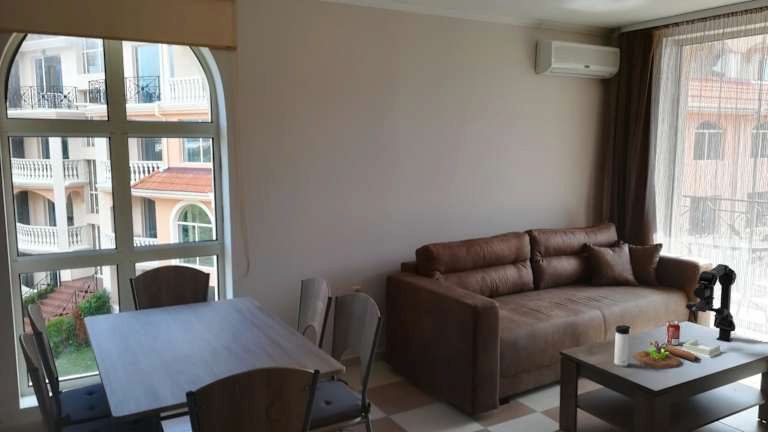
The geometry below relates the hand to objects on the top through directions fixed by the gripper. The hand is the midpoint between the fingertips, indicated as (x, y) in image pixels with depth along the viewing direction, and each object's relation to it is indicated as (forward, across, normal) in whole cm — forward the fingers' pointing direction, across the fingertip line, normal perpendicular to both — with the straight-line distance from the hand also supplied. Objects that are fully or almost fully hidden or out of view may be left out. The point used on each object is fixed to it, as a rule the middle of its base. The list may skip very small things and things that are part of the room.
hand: (705, 324), depth 306 cm
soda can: (+15, -16, -1) cm, 22 cm away
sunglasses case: (+15, -5, -16) cm, 22 cm away
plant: (+16, -10, -33) cm, 37 cm away
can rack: (+15, -1, -1) cm, 15 cm away
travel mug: (+15, -19, -51) cm, 56 cm away
